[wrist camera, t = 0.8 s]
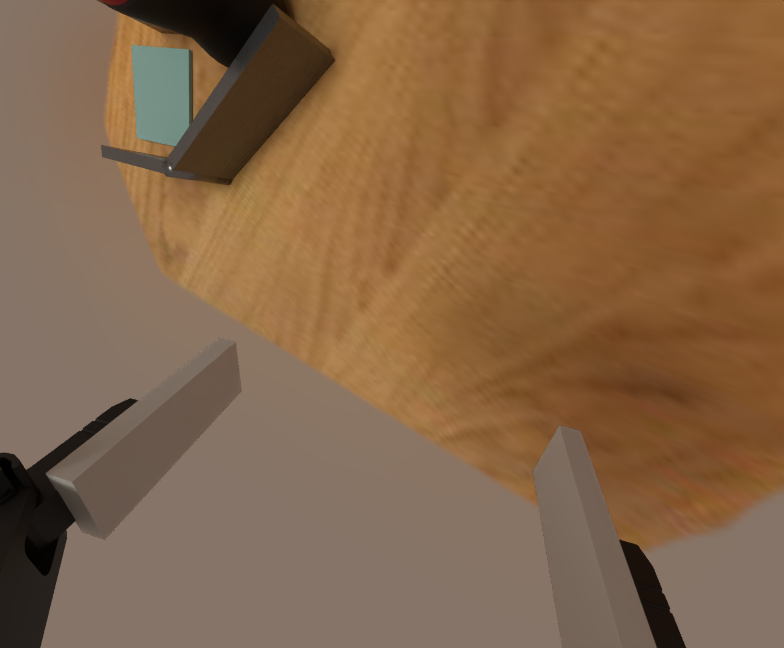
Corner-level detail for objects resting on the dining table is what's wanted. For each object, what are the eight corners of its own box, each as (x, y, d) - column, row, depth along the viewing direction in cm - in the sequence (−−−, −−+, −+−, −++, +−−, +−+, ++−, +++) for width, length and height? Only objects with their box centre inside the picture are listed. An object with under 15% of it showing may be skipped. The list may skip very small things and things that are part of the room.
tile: (192, 51, 37) (188, 49, 37) (192, 150, 41) (189, 149, 40) (135, 46, 40) (131, 45, 40) (140, 138, 44) (136, 137, 44)
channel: (234, -124, 30) (154, -212, 24) (335, 62, 31) (281, 20, 25) (124, 92, 43) (53, 69, 37) (196, 222, 43) (138, 221, 37)
